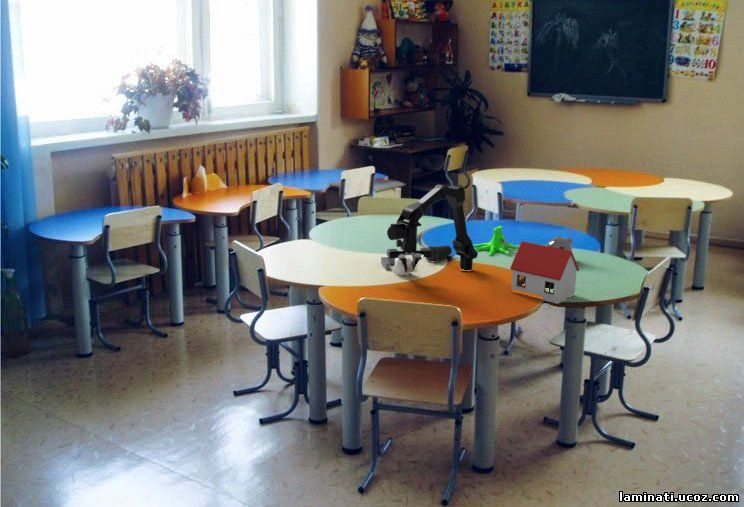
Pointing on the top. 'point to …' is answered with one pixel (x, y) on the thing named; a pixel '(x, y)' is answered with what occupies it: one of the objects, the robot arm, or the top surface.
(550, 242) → the piggy bank
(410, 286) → the top surface
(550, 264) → the house model
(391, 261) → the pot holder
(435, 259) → the drinking cup
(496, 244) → the toy octopus
